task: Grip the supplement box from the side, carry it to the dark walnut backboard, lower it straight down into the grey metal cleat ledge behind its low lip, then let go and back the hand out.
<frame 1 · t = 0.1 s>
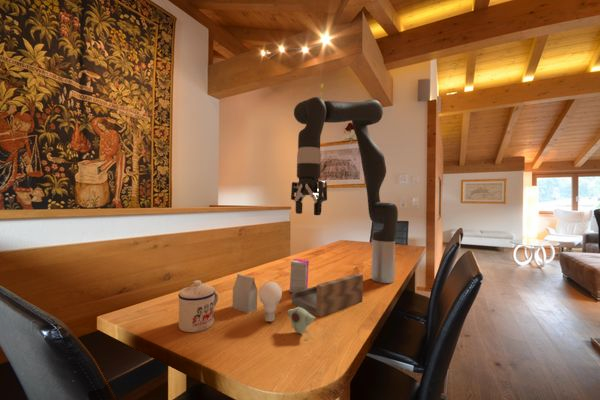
hand: (307, 214, 86), 29 cm above the table, tool pointing down, fingers open, 8 cm apart
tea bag: (244, 309, 83), on the table
pale green triangular piece: (298, 334, 69), on the table
teacup with lid: (200, 323, 73), on the table
lightbulb: (269, 322, 75), on the table
cleat board: (326, 301, 90), on the table
supplement box: (298, 292, 99), on the table
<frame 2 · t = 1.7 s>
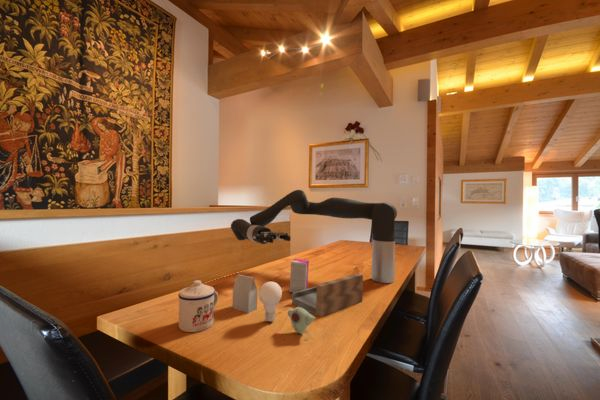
hand: (281, 239, 107), 18 cm above the table, tool horizontal, fingers open, 8 cm apart
nothing on the table moved.
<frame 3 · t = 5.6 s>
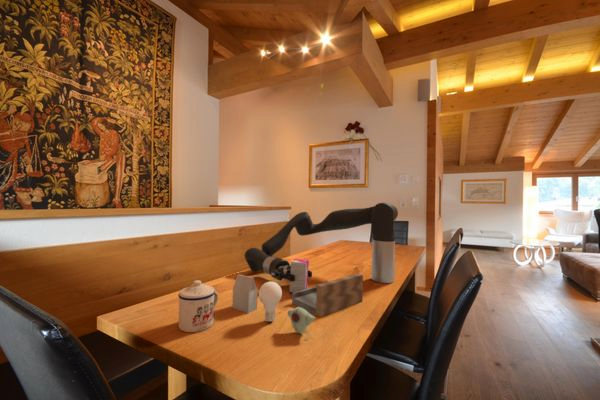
hand: (302, 276, 98), 6 cm above the table, tool horizontal, fingers closed on supplement box, 8 cm apart
supplement box: (298, 292, 99), on the table, touching gripper
everything else where it was.
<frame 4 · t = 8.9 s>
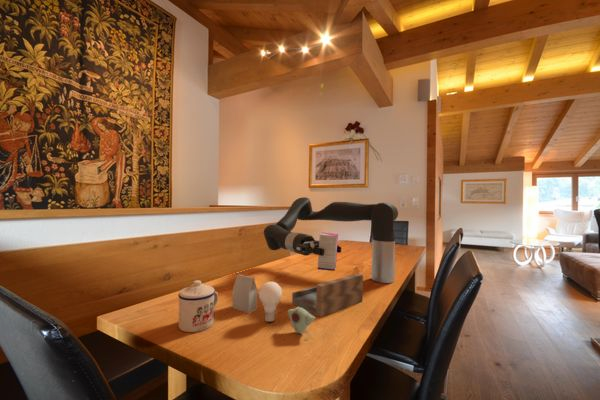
hand: (332, 251, 88), 17 cm above the table, tool horizontal, fingers closed on supplement box, 8 cm apart
supplement box: (327, 268, 90), point 11 cm above the table, touching gripper
everything else where it was.
when the fingers open (9 cm above the table, at t = 12.2 s): supplement box stays where it is, resting on cleat board.
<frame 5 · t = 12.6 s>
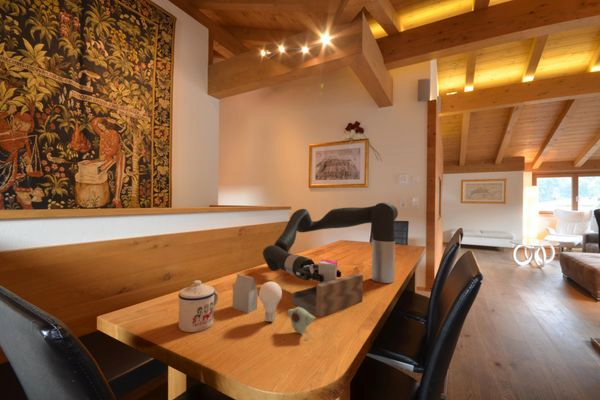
hand: (332, 276, 89), 9 cm above the table, tool horizontal, fingers open, 8 cm apart
supplement box: (326, 296, 90), point 2 cm above the table, touching cleat board, gripper
everything else where it was.
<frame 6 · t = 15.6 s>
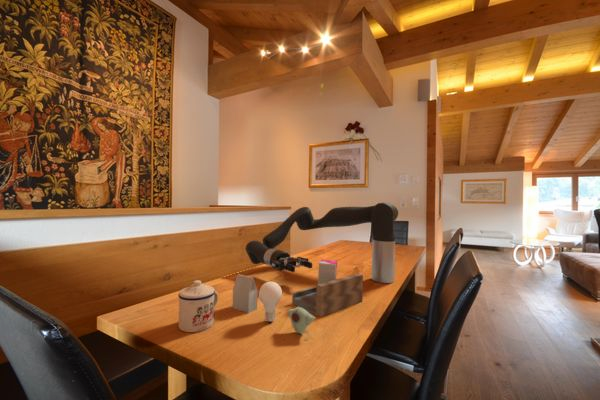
hand: (303, 267, 99), 9 cm above the table, tool horizontal, fingers open, 8 cm apart
supplement box: (326, 296, 90), point 2 cm above the table, touching cleat board
everything else where it was.
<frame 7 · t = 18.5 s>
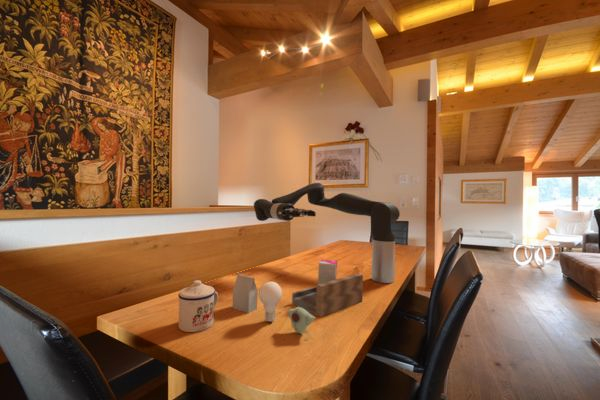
hand: (307, 214, 108), 28 cm above the table, tool horizontal, fingers open, 8 cm apart
nothing on the table moved.
at the end: supplement box inside the target area (0.1 cm from its centre), point 1.8 cm above the table; supplement box tilted 0°; the gripper is holding nothing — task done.
